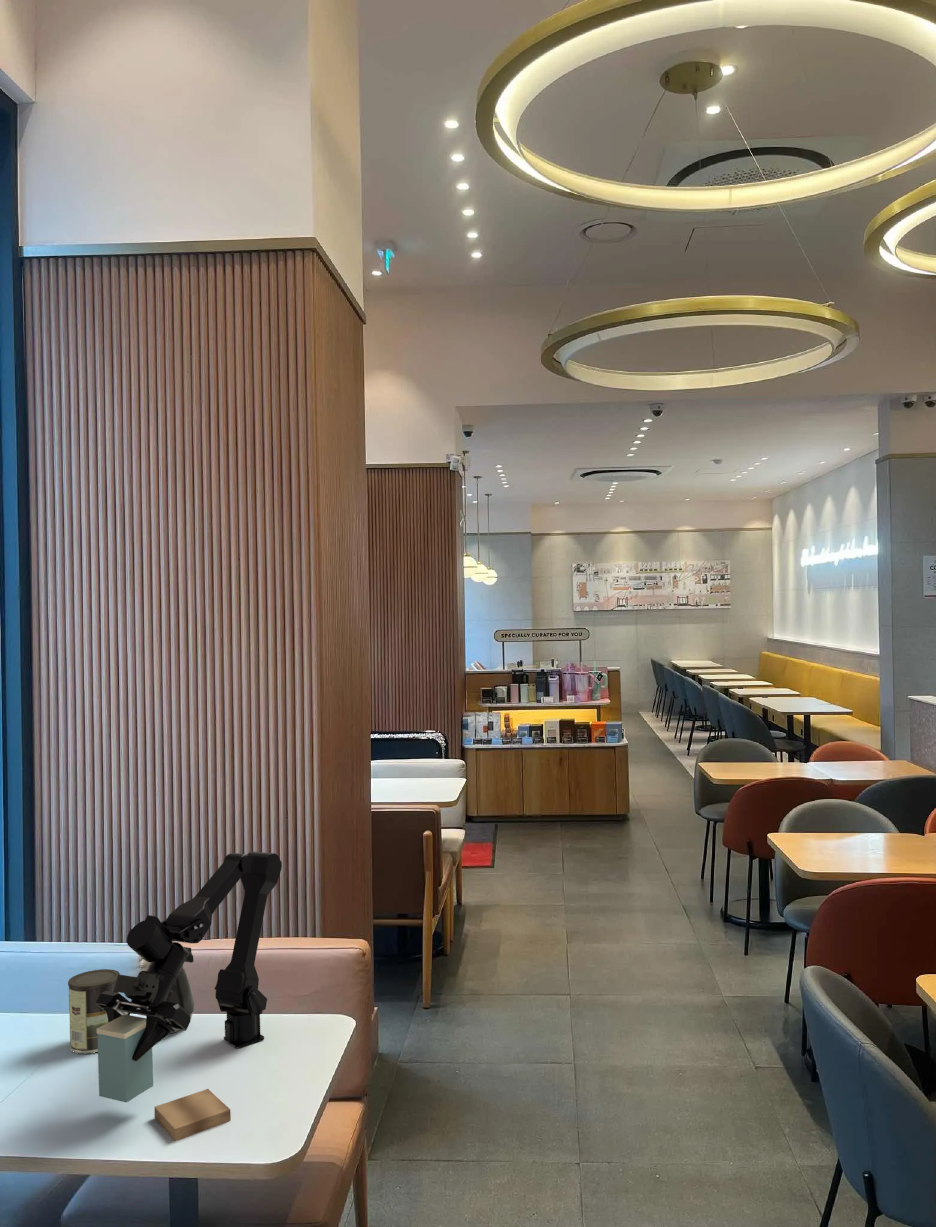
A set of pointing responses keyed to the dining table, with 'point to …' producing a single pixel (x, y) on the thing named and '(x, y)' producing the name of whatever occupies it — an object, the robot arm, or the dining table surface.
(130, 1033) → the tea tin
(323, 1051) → the dining table surface
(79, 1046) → the coffee can
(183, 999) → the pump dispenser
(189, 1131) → the block
